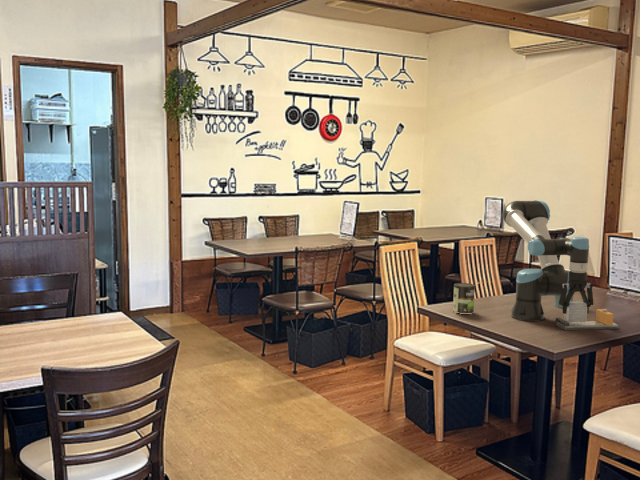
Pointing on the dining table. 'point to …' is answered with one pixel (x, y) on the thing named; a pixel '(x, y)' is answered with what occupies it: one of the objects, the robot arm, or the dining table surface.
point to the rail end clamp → (604, 316)
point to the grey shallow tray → (584, 325)
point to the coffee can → (464, 297)
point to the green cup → (558, 301)
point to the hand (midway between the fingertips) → (575, 320)
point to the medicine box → (577, 311)
